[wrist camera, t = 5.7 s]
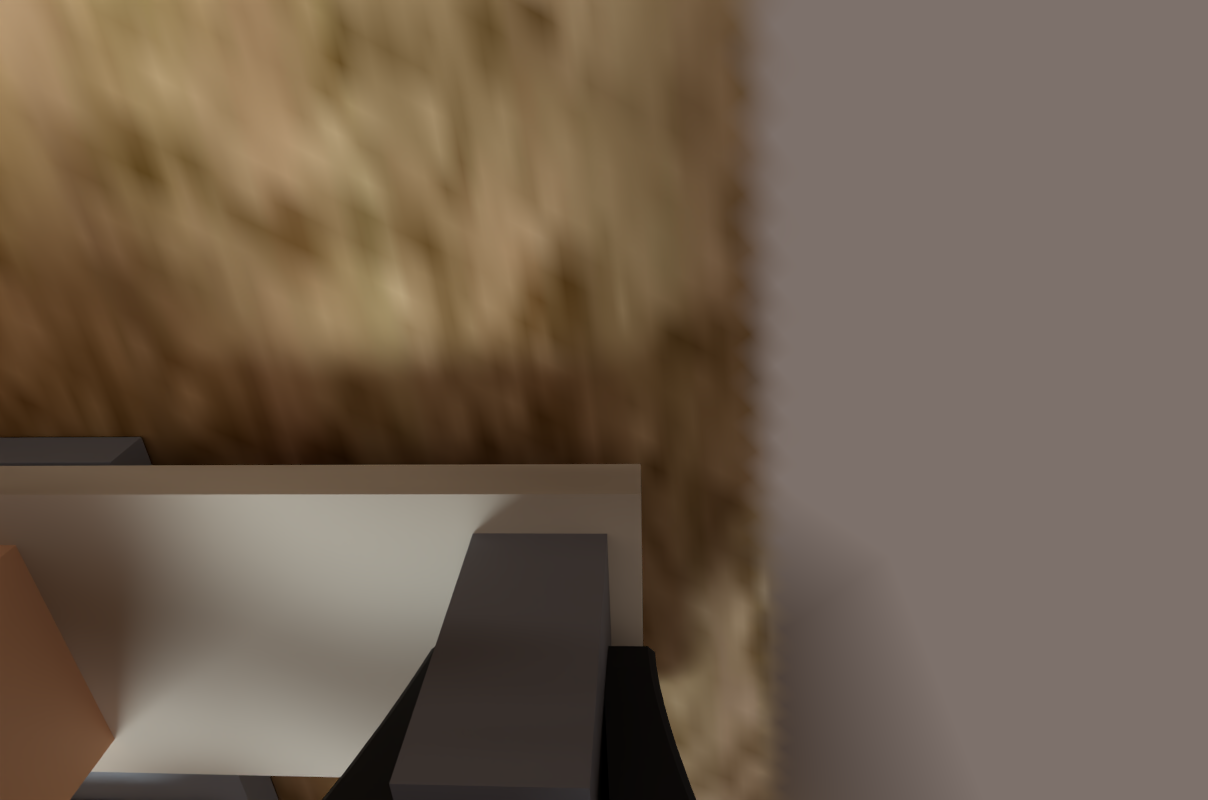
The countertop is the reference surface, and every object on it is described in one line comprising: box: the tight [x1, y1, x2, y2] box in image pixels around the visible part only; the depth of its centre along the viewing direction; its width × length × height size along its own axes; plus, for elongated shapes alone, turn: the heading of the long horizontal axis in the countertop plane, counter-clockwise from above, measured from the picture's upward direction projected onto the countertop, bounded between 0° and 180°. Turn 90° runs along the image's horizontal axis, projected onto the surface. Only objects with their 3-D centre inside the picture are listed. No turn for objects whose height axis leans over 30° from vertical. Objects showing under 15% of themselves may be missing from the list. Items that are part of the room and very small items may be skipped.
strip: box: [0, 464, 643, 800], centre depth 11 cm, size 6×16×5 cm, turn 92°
